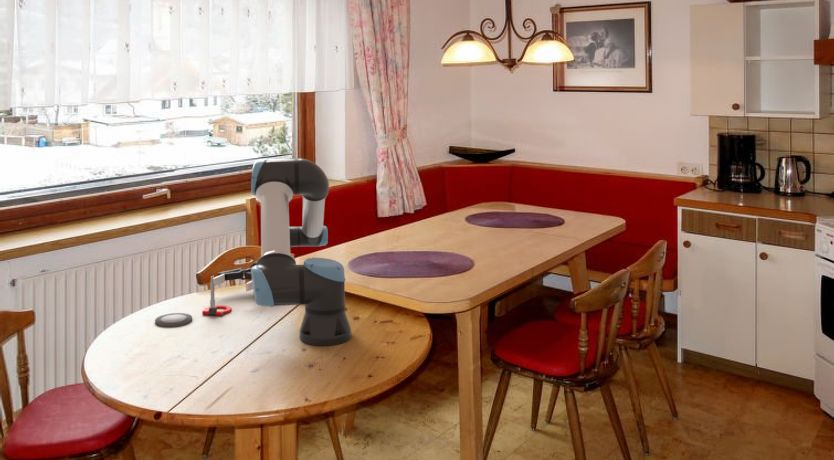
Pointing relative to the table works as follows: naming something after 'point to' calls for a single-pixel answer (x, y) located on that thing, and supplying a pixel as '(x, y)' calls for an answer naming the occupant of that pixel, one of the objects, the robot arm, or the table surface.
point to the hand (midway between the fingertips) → (229, 285)
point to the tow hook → (213, 309)
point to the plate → (173, 320)
